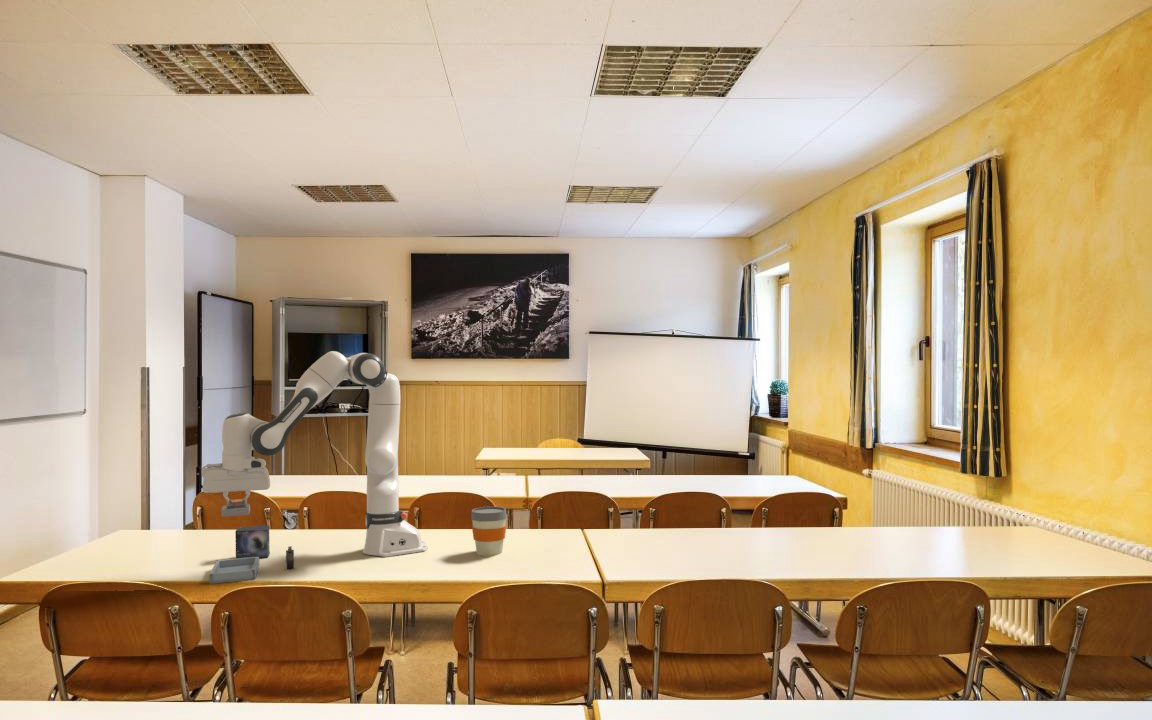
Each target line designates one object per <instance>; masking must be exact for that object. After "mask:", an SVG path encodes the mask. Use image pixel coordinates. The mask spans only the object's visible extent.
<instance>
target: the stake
mask: <svg viewBox="0 0 1152 720" xmlns="http://www.w3.org/2000/svg"><path fill="white" fill-rule="evenodd" d="M285 561H286V563H285V565H286V566H285V567H286V568H285V569H286V571H287V570H290V571H291V570H294V569H295V551H294V549H293V548H292V546H288V547H287V549H286V550H285Z"/></svg>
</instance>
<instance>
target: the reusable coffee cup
mask: <svg viewBox="0 0 1152 720" xmlns="http://www.w3.org/2000/svg"><path fill="white" fill-rule="evenodd" d="M507 516H508V515H507V509H506V508H505V507H500V506H481V507H476V508H473V509H471V514H470V519H471V521H472V526H471V530H472V536H473V540H474V543H475V547H476V548H475V550H476V554H477V555H479V556H484V557H486V556H487V557H488V556H498V555H500V554H502V553H503V549H504V539H505V538H506V530H507V524H506V521H507Z"/></svg>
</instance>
